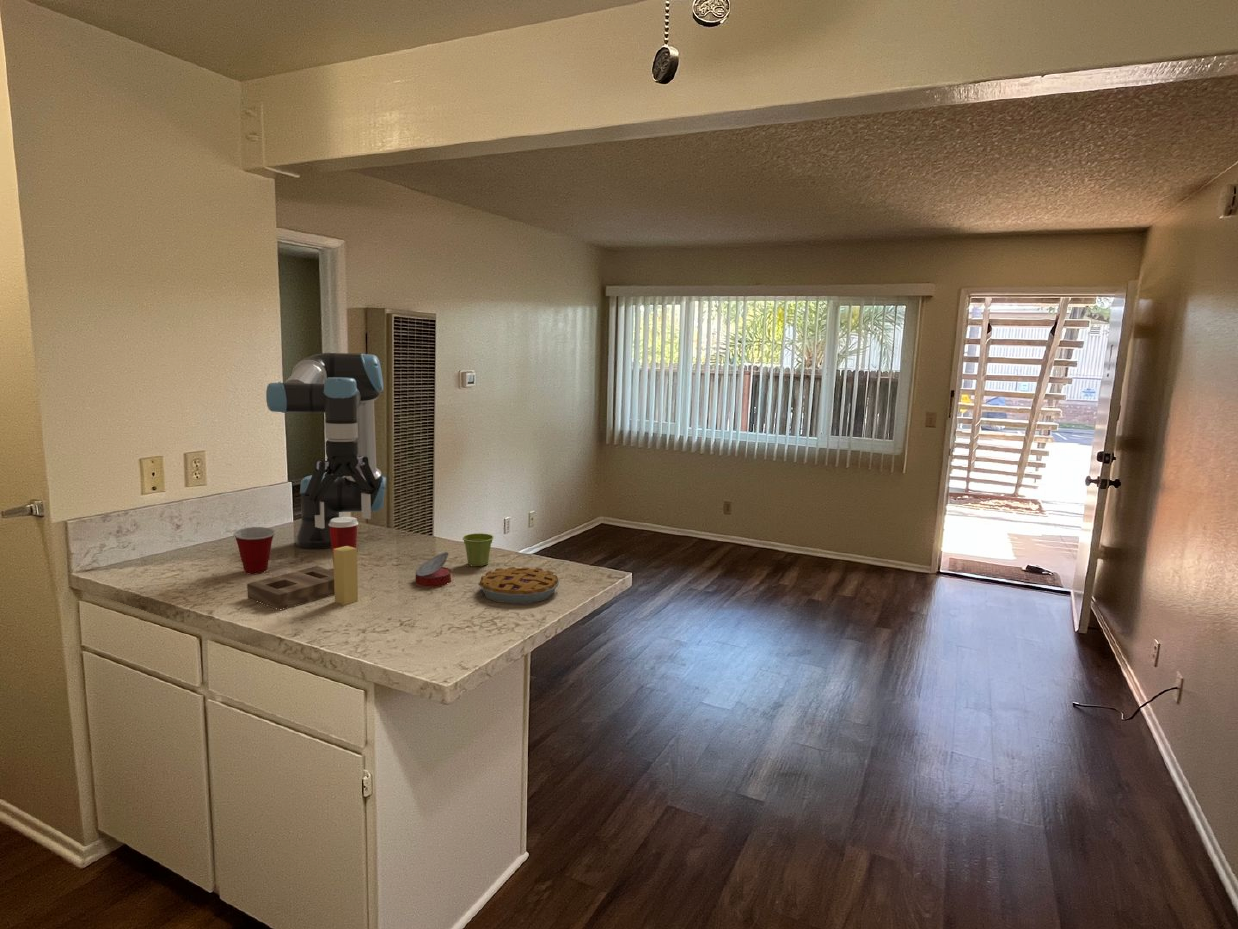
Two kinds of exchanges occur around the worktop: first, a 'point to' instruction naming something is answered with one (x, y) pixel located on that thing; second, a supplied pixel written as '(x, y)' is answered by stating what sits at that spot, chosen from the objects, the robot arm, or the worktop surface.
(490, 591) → the pie
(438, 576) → the canned food
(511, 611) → the worktop surface
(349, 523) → the coffee cup
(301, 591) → the socket block
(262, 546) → the plastic cup
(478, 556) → the plant pot
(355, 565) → the square peg
